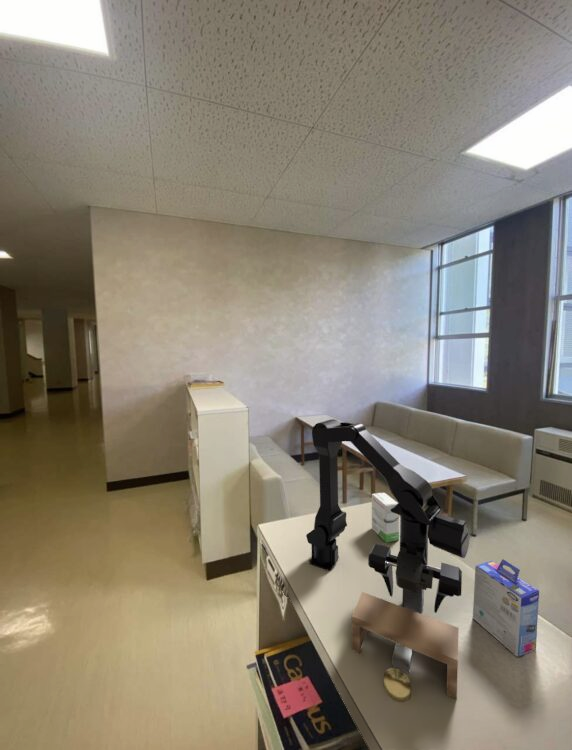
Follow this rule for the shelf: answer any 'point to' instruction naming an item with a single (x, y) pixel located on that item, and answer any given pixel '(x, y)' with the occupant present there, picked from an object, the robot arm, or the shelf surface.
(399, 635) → the walnut shelf
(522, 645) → the ink cartridge box
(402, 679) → the gold round piece
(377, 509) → the ink box
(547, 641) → the shelf surface
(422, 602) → the grey bar
